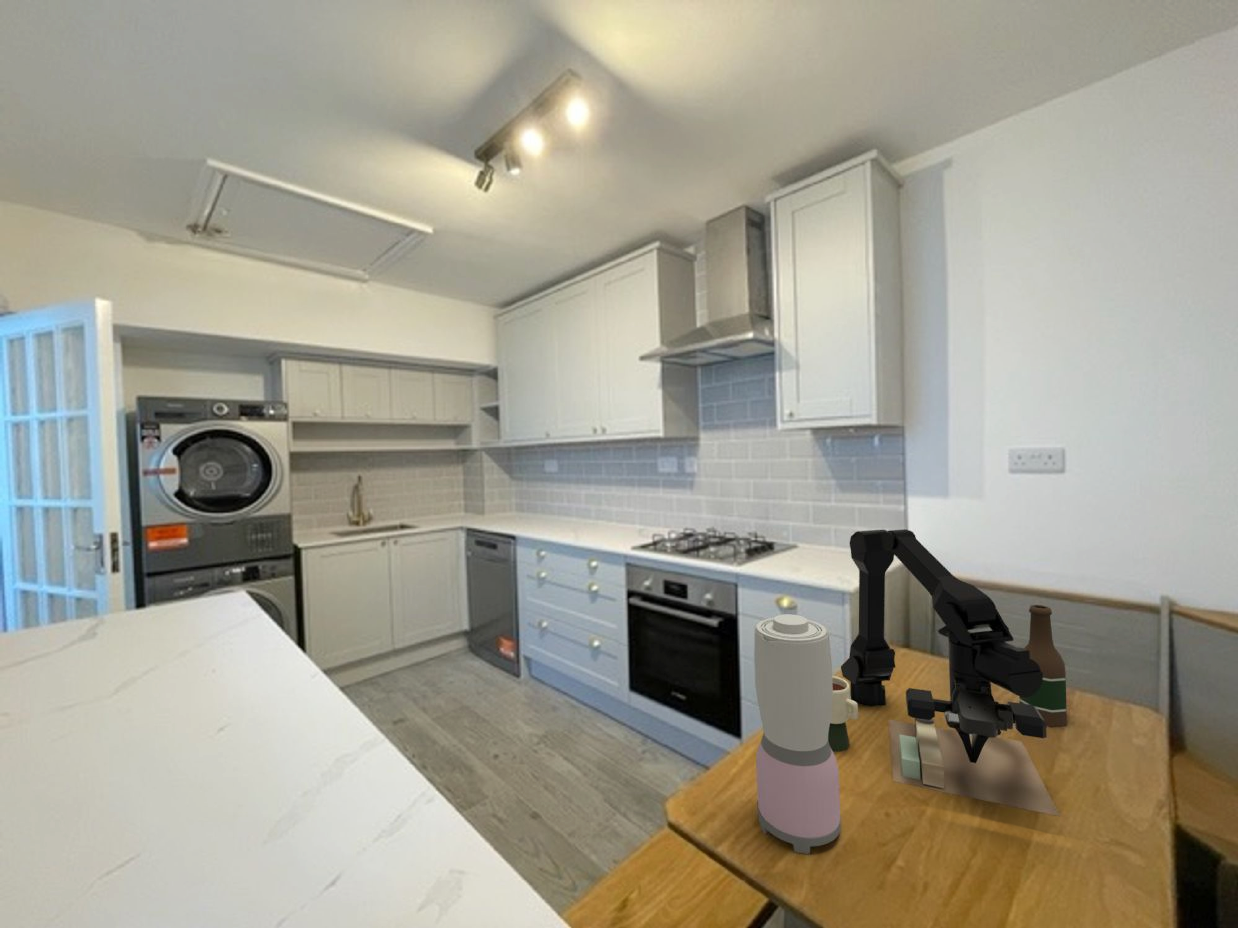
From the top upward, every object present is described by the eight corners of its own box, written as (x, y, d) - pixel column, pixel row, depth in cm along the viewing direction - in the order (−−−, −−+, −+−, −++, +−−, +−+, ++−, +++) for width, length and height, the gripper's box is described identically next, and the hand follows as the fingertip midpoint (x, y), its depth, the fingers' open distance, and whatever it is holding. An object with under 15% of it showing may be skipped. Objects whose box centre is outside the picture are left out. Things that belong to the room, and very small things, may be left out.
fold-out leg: (914, 731, 99) (914, 714, 99) (934, 735, 98) (933, 717, 98) (922, 783, 85) (921, 762, 84) (945, 788, 83) (944, 767, 83)
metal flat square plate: (893, 789, 86) (893, 780, 86) (888, 726, 105) (888, 719, 105) (1060, 825, 76) (1060, 815, 76) (1021, 749, 95) (1021, 741, 95)
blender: (815, 869, 71) (806, 640, 70) (741, 824, 80) (732, 621, 79) (864, 812, 81) (857, 612, 80) (794, 778, 90) (787, 598, 89)
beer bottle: (1057, 717, 105) (1054, 601, 105) (1077, 737, 98) (1074, 613, 97) (1012, 712, 108) (1009, 599, 107) (1028, 732, 101) (1025, 611, 100)
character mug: (870, 755, 96) (867, 687, 95) (848, 770, 91) (846, 699, 91) (817, 731, 104) (815, 668, 104) (796, 743, 100) (793, 678, 100)
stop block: (902, 775, 87) (902, 758, 87) (899, 750, 94) (899, 734, 94) (920, 779, 86) (919, 762, 86) (916, 753, 93) (915, 737, 93)
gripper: (908, 681, 82) (912, 776, 82) (1056, 700, 74) (1060, 806, 74) (904, 654, 92) (907, 740, 92) (1034, 669, 84) (1037, 763, 84)
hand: (972, 761), depth 85 cm, fingers closed
